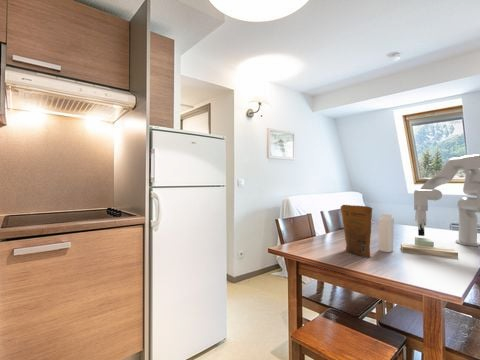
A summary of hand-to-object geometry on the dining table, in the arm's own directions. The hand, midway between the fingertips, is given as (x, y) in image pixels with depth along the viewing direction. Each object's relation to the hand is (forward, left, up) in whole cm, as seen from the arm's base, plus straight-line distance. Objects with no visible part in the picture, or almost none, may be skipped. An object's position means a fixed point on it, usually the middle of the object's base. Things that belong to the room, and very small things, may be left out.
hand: (421, 235), depth 176 cm
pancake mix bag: (+45, -39, -6) cm, 60 cm away
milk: (+29, -23, -6) cm, 38 cm away
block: (+13, -1, -6) cm, 15 cm away
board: (+23, -1, -6) cm, 24 cm away
